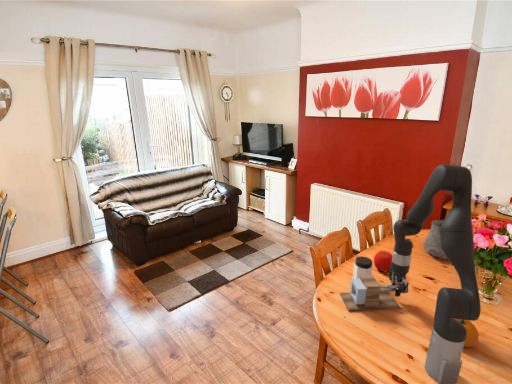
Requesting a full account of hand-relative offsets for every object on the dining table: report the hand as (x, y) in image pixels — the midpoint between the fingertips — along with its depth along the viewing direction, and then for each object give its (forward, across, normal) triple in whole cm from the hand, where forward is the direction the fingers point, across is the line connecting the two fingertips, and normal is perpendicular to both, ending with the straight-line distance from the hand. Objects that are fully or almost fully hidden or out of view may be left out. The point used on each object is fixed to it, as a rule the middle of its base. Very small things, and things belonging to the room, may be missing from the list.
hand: (395, 293), depth 139 cm
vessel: (+4, +40, -49) cm, 64 cm away
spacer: (+2, 0, +18) cm, 18 cm away
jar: (+4, +17, +9) cm, 20 cm away
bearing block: (+4, 0, +13) cm, 14 cm away
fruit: (+4, -24, -14) cm, 28 cm away
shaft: (0, 0, +8) cm, 8 cm away
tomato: (+4, +27, -7) cm, 28 cm away
